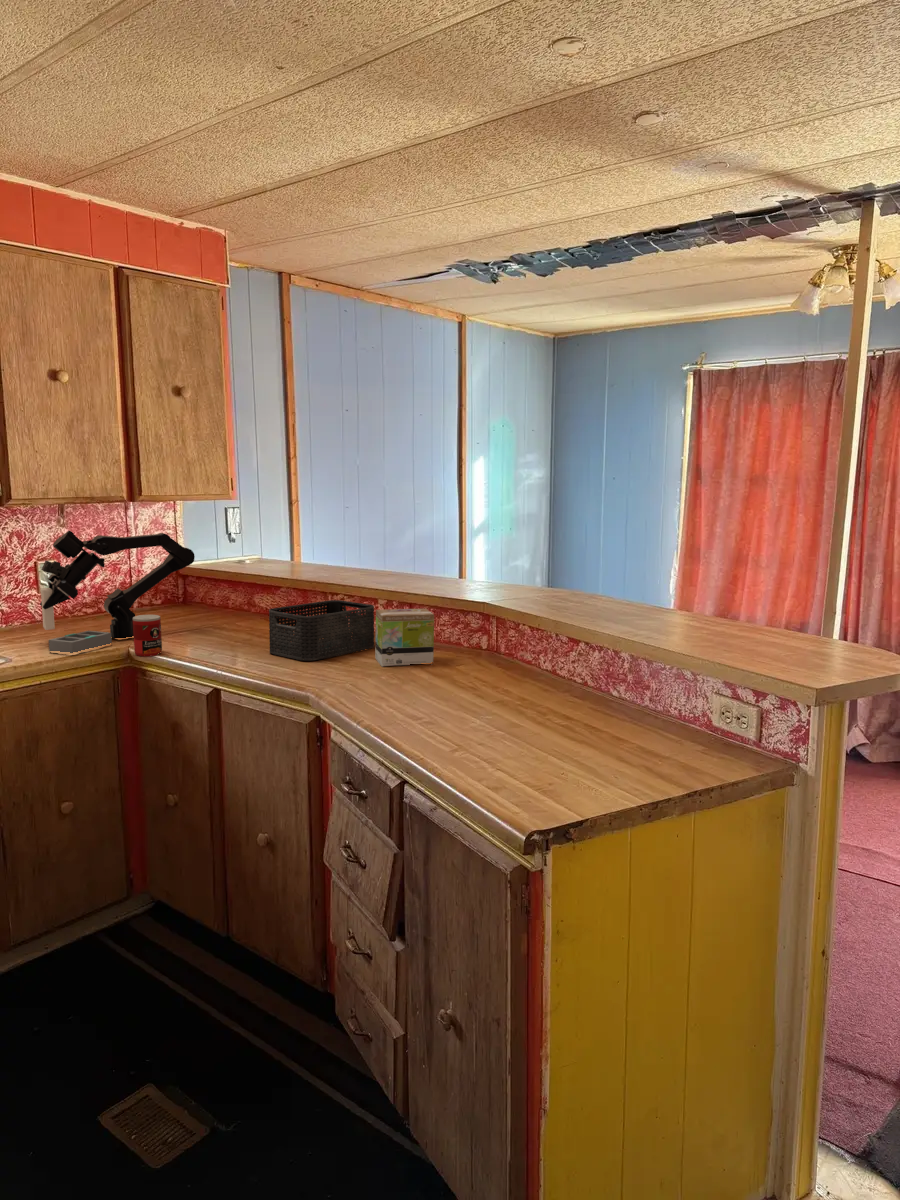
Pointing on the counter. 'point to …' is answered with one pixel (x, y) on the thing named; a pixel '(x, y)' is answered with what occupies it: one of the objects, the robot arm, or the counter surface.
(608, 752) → the counter surface
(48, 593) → the block
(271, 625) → the storage bin
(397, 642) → the tea box
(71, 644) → the frame
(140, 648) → the canned food
